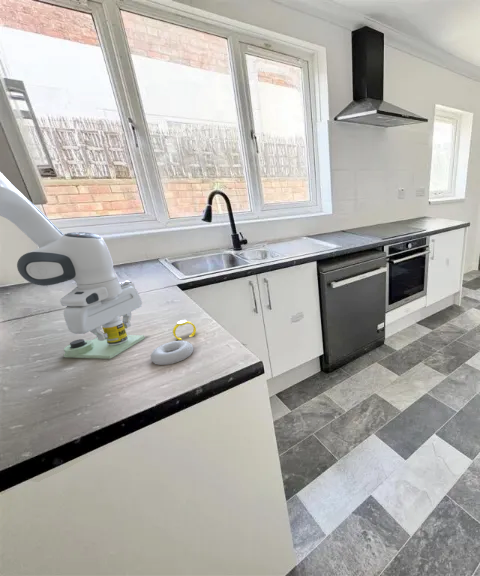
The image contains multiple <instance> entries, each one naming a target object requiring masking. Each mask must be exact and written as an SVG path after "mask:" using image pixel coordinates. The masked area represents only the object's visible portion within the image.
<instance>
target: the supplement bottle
mask: <svg viewBox="0 0 480 576" xmlns="http://www.w3.org/2000/svg"><path fill="white" fill-rule="evenodd" d="M101 329H102V331H103V333H107V336H108V338H107V339H106V340H107V343H108V345H118V344H122V343H124V342H126V341H127V340H128V337H127V335H128V334H127V331H126V328H124V324H123V319H121V317H119V316H116V317H114V318H113V320H112V321H110V322H108V323H106V324H104V325H102V326H101Z"/></svg>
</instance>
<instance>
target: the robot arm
mask: <svg viewBox="0 0 480 576" xmlns="http://www.w3.org/2000/svg"><path fill="white" fill-rule="evenodd" d="M0 217H2V218H4V219H6V220H8V221H10V222H11V223H12V224H14V226H15V227H17V228H18V229H19V230H20V231H21V232H22V233H24V235H26V237H27V238H29V240H31V241H32V242H33V243H34V244H35V245H36V246H37V248H35V249H33V250H30V251H27V252H26V253H24V254H23V255H21V256H20V257H19V258H18V260H17V263H16V268H17V271H18V273H19V275H20V276H21V277H22V278H23V279H24V280H26V281H27V282H29V283H31V284H33V285H37V286H43V287H45V286H47V287H48V286H54V285H58V284H62V283H64V282H68V281H73V282H75V284H76V287H74V288H73V289H72V290H71V291H70V292H68V293H67V294H66V295H64V296H63V297H61V298H60V300H59V302H60V305H61V306H63V307H64V309H63V317H64V321H65V325H66V327H67V329H68V331H69V332H70V333H72V334H76V335H85V334H88V333H89V332H90V333H92V334H93V335H95V336H96V338H98V340H99V341H103V340H105V339H107V338H108V336H107V333H104V332H102V331H101V330H102V325H104V324H106V323H108V322H110V321H112V320H113V318H114V317H116V316H119V317H120V318H121V317H122V321H123V324H124V328H125V329H128V328H131V326H132V324H131V318H132V312H134V311H136V310H138V309H140V308H142V305H143V301H142V298H141V295H140V294H139V292H138V290H137V288H136V286H135V283H134V282H132V281H130V280H124V281H123V282H120V280H119V276H118V274H117V273H116V271H115V269H114V260H113V258H112V254H111V252H110V249H109V247H108V245H107V243H106V241H105V239H104V238H103V237H102V236H100V235H98V234H96V233H92V232H84V231H83V232H82V231H79V232H77V231H76V232H67V233H63V232H62V231H61V230H60V229H59V228H58V226H56V225H55V224H54V223H53V222H52V221H51V220H50V219H49V218H48V217H47V216H46V215H45V214H44V213H43V212H42V211H41V210H40V209H39V208H38V207H37V206H36V205H35V204H34V203H33V202H32V201H31V200H30V199H29V198H28V197H26V196H25V195H24V194H23V193H22V192H21V191H20V190H19V189H18V188H17V187H15V185H13V184H12V183H11V181H10V180H9V179H8V178H7V177H6V176H5V175H4V174H3V173H2V172H1V171H0Z"/></svg>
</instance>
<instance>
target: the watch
mask: <svg viewBox="0 0 480 576" xmlns="http://www.w3.org/2000/svg"><path fill="white" fill-rule="evenodd" d="M187 324H189V325H191V326H192V327H193V329H192V330H193V331H192V333H191V334H190V335H189V338H191V337H194V336H195V335H196V332H197V327H196V326H195V324H194V323H192V321H187V319H181V320H178V321H177V322H176V324H175V325H174V327H173V329H172V335H173V336H174V338H176V339H177V341H183V339H182V338H181V337H178V336H177V335H176V331H177V329H178V327H181V326H185V325H187Z"/></svg>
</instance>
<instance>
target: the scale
mask: <svg viewBox="0 0 480 576" xmlns="http://www.w3.org/2000/svg"><path fill="white" fill-rule="evenodd" d="M127 337H128V340H127V341H126V342H124V343H122V344H118V345H108V343H107V340H106V339H105V340H103V341H99V340H98V338H97V337H95V338H93V339H90V340H89V339H88V340H87V339H84V341H85V343H86V345H84V346H82V347H79V348H74V349H73V348H71V346H70V344H68V345H66V346H65V347H64V348H63V352H64V354H63V357H64V358H68V359H69V358H73V359H74V358H75V359H107V360H108V359H112V358H114V357H116V356H118V355H120V354H121V353H123V352H124V351H126V350H128V349H129V348H131V347H133V346H134V345H136V344H138V343H139V342H141V341H142V340H144V339H145V338H146V337H145V335H144V334H143V335H142V334H141V335H137V334H127Z"/></svg>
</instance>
